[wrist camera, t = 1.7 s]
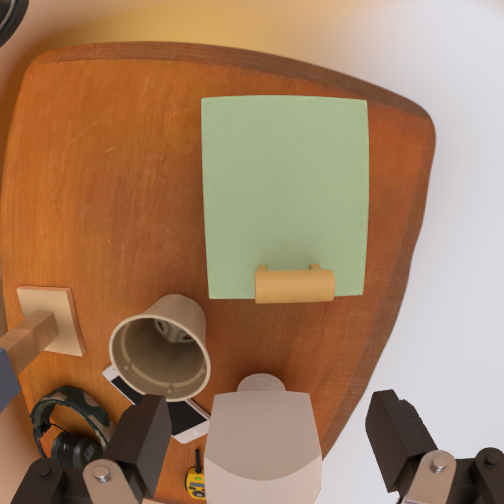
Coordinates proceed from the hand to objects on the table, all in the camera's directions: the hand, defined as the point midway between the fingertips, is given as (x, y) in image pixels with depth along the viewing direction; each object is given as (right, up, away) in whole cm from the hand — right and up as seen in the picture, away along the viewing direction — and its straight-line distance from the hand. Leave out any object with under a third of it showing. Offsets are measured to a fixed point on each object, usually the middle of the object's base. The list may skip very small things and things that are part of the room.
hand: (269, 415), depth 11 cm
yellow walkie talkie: (-9, -29, +30) cm, 43 cm away
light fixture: (0, -11, +25) cm, 28 cm away
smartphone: (-13, -13, +26) cm, 32 cm away
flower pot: (-9, -1, +23) cm, 25 cm away
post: (-27, -3, +23) cm, 36 cm away
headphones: (-28, -22, +29) cm, 46 cm away
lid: (+2, +10, +12) cm, 15 cm away
